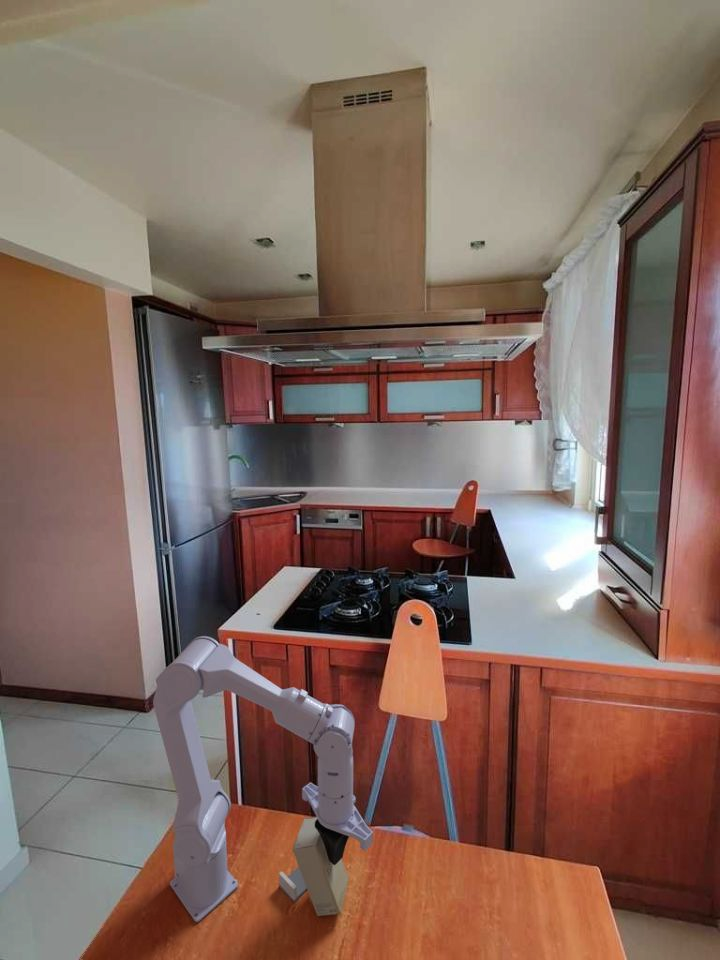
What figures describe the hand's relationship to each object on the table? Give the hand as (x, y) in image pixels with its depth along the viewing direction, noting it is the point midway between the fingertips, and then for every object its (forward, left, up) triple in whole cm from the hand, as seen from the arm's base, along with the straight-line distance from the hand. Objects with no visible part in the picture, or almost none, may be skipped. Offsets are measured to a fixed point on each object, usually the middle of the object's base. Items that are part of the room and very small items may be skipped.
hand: (335, 858), depth 75 cm
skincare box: (-1, 0, -8) cm, 8 cm away
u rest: (-7, 0, -8) cm, 11 cm away
